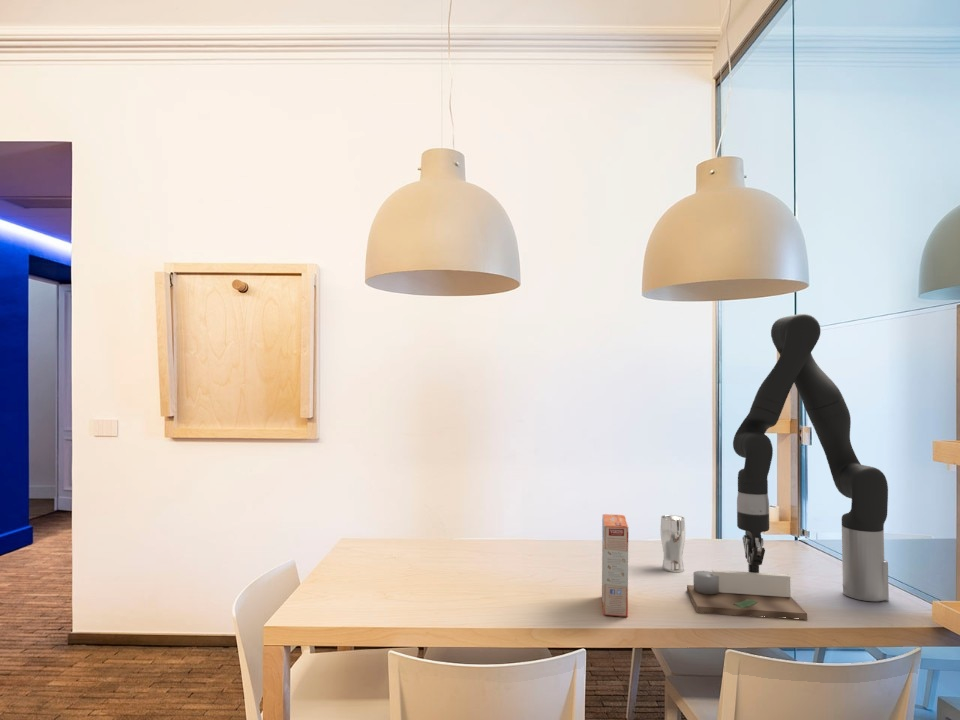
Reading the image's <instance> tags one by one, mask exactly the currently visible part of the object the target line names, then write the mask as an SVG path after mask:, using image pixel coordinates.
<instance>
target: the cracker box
mask: <svg viewBox="0 0 960 720" xmlns="http://www.w3.org/2000/svg"><path fill="white" fill-rule="evenodd" d="M601 521H602V526H601V527H602V528H601V534H602V535H601V537H602V538H601V540H602V542H601V546H602V547H601V548H602V549H601V550H602V551H601V601H602V602H601V603H602V610H603V611H602V613H603V616H609V617H610V616H611V617H620V618H621V617H623V618H625V617H626V618H628V616H629V615H628V614H629V612H628V611H629V526H628V522H627V520H626V516H625V515H624V514H607V513H605V514H602V520H601Z"/></svg>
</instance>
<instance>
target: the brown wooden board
mask: <svg viewBox="0 0 960 720" xmlns="http://www.w3.org/2000/svg"><path fill="white" fill-rule="evenodd" d="M686 592H687V594H688V596H689V598H690V600H691V602H692V605H693V606H694V608H695V610H696V613H698V614H710V615H725V616H738V617H739V616H741V617H742V616H743V617H754V616H763V617H762V618H769V617H786V618H799V619H807V620H808V613H807V611H805V610H804V609H803V607H801V605H800V604H799V603H798V602H797V601H796V600H795V599H794V598H793V596H791V597H780V596H765V595H751V594H737V593H722V592H719V593H717V594H702V593H699V592H696V591H695V590H694V584H693V585H691V584H687V585H686ZM764 616H765V617H764ZM799 619H798V620H799Z"/></svg>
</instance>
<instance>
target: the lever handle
mask: <svg viewBox="0 0 960 720" xmlns="http://www.w3.org/2000/svg"><path fill="white" fill-rule="evenodd" d="M693 585H694V590H695V591H696V592H699V593H702V594H717V593H719V592H722V593H737V594H751V595H765V596H780V597H792V596H791V575H789V574H784V573H783V574H782V573H769V572H767V573H766V572H759V573H754V572H749V571H736V570H721V569H719V570H718V569H711V571H709V570H695V571H694V572H693Z"/></svg>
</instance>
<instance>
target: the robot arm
mask: <svg viewBox="0 0 960 720" xmlns="http://www.w3.org/2000/svg"><path fill="white" fill-rule="evenodd" d="M770 336H771V340H772V343H773V345H774V347H775V349H776V351H777V352H778V354H779V357H778V360H777V361H776V363H775V364H774V366H773V368H771V371H770V372H769V373H768V374H767V376H765V377H766V378H765V379H764V380H763V381H762V383H761V384H760V386H759V387H758V390H757V392H756V394H755V396H754V399H753V401H752V404H751V407H750V409H749V412H748V413H747V415H746V417H744V419H743V421H742V422H741V424H740V425H739V427H738V428H737V430H736V432H735V434H734V437H733V440H732V448H733V451H734V452H735V454H737V456H739V457H741V458H744V467H743V468H741V469H740V470H739V471H738V473H737V497H736V526H737V528H738V529H739V530H742V531H745V532H744V533H745V534H744V535H743V536H742V543H743V549H744V555H745V560H746V562H747V564H748V566H747V567H748V570H747V572H754V573H760V566H761V565H763V561H764V557H765V553H766V549H765V547H763V546H764V538H762V533H764V532H768V531H769V530H770V500H769V491H768V490H769V488H768V487H769V485H768V483H769V481H768V478H769V477H768V476H769V473H770V470H771V469H770V468H771V464H772V461H773V456H774V455H773V454H774V453H773V451H774V450H773V444H772V441H771V439H770V438H769V436H768V435H766V432H767V430H768V429H770V428H772V427H774V426H776V425H777V423H778V422H779V420H780V416H781V414H782V411H783V409H784V406H785V404H786V400H787V398H788V397H789V394H790V392H791V390H792V387H793V386H795V388H796V390H797V392H798V394H799V397H800V399H801V401H802V405H803V407H804V408H805V409H804V410H805V411H806V414H807V416H808V418H809V420H810V422H811V425H812V427H813V428H814V431H815V433H816V435H817V438H818V440H819V442H820V445H821V447H822V450H823V452H824V455H825V457H826V461H827V464H828V467H829V470H830V474H831V477H832V480H833V484H834V486H835V488H836V489H837V491H838V492H839V493H840V494H841V495H842V496H843V497H846V498H847V499H851V507H850V510H849V511H848V512H846V513H844V514H842V516H841V552H842V553H841V557H842V558H841V560H842V563H841V564H842V565H841V566H842V570H841V571H842V593H843V594H844V595H845V596H847V597H850V598H852V599H854V600H855V599H856V600H859V601H865V602H882V601H883V602H884V601H890V600H889V599H890V597H889V595H890V594H889V589H890V588H889V563H888V561H887V560H885V532H884V531H885V526H884V525H885V522H886V521H887V518H888V505H889V484H888V480H887V477H886V475H885V474H884V472H883V471H881V469H879V468H877V467H874V466H869V465H864V464H861V463H860V461H859V459H858V457H857V455H856V452H855V451H854V448H853V446H852V442H851V424H852V423H851V415H850V414H851V413H850V410H849V408H848V406H847V402H846V401H845V398H844V396H843V394H842V392H841V390H840V389H839V387H838V385H836V384H835V382H834V381H833V380H832V379H831V378H830V377H829V376H828V375H827V373H825V371H824V370H822V369H821V367H820V366H819V365H818V363H817V362H816V361H815V358H814V357H813V354H812V352H813V350H814V348H815V347H816V346H817V344H818V341H819V340H820V336H821V325H820V323H819V321H818V320H817V319H816V317H814V316H812V315H810V314H808V313H807V314H806V313H800V314H793V315H790V316H789V315H788V316H783V317H780V318H778V319H776V320H775V321H774V322H773V324H772V326H771V328H770Z"/></svg>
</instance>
